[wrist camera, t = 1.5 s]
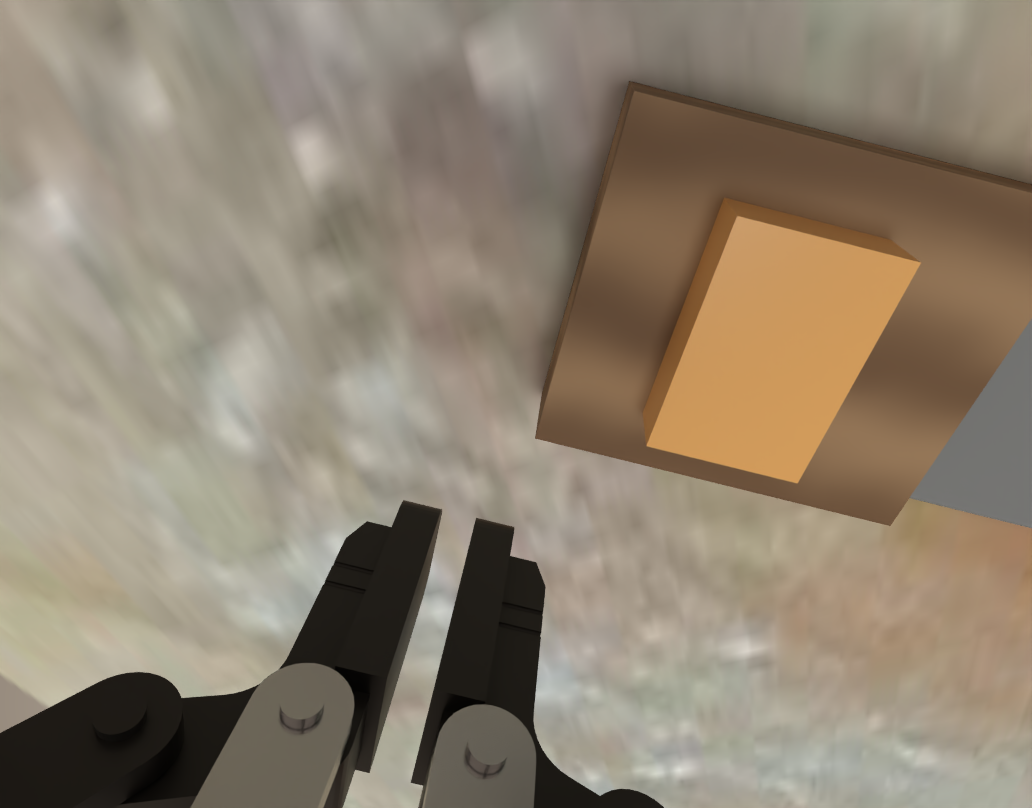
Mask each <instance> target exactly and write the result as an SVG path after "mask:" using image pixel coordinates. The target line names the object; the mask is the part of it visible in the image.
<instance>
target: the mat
mask: <svg viewBox="0 0 1032 808" xmlns="http://www.w3.org/2000/svg"><path fill="white" fill-rule="evenodd" d="M910 498H912V499H916V500H920V501H924V502H928V503H932V504H936V505H940V506H944V507H948V508H952V509H956V510H960V511H964V512H968V513H972V514H976V515H980V516H984V517H989V518H993V519H997V520H1001V521H1005V522H1009V523H1013V524H1017V525H1021V526H1025V527H1029V528H1032V319H1031V320H1030V322H1029V323H1028V325H1027V326H1026V327H1025V329H1024V330H1023V332H1022V333H1021V335H1020V336H1019V338H1018V339H1017V341H1016V342H1015V344H1014V345H1013V347H1012V348H1011V349H1010V351H1009V352H1008V354H1007V355H1006V357H1005V358H1004V360H1003V361H1002V363H1001V364H1000V366H999V367H998V369H997V370H996V372H995V373H994V374H993V376H992V377H991V379H990V380H989V382H988V383H987V385H986V386H985V388H984V389H983V391H982V392H981V394H980V395H979V396H978V398H977V399H976V401H975V402H974V404H973V405H972V407H971V408H970V410H969V411H968V413H967V414H966V416H965V417H964V418H963V420H962V421H961V423H960V424H959V426H958V427H957V429H956V430H955V432H954V433H953V435H952V436H951V438H950V439H949V441H948V442H947V443H946V445H945V446H944V448H943V449H942V451H941V452H940V454H939V455H938V457H937V458H936V460H935V461H934V463H933V464H932V465H931V467H930V468H929V470H928V471H927V473H926V474H925V476H924V477H923V479H922V480H921V482H920V483H919V485H918V486H917V487H916V489H915V490H914V492H913V493H912V495H911V496H910Z"/></svg>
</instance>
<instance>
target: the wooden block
mask: <svg viewBox="0 0 1032 808" xmlns="http://www.w3.org/2000/svg"><path fill="white" fill-rule="evenodd" d="M724 198H728V199H732V200H736V201H740V202H744V203H748V204H752V205H756V206H760V207H763V208H767V209H771V210H775V211H779V212H783V213H787V214H791V215H795V216H799V217H803V218H807V219H811V220H815V221H818V222H822V223H826V224H830V225H834V226H838V227H842V228H846V229H850V230H854V231H858V232H862V233H866V234H870V235H873V236H877V237H881V238H885V239H889V240H892V241H893V242H894V243H896V244H897V245H898V246H900V247H901V248H902V249H904V250H905V251H906V252H908V253H909V254H910V255H912V256H913V257H914V258H916V259H917V260H918V261H920V262H921V264H920V266H919V268H918V269H917V271H916V273H915V275H914V276H913V278H912V280H911V282H910V284H909V285H908V287H907V289H906V291H905V293H904V294H903V296H902V298H901V300H900V301H899V303H898V305H897V307H896V309H895V310H894V312H893V314H892V316H891V318H890V319H889V321H888V323H887V325H886V326H885V328H884V330H883V332H882V334H881V335H880V337H879V339H878V341H877V343H876V344H875V346H874V348H873V350H872V351H871V353H870V355H869V357H868V359H867V360H866V362H865V364H864V366H863V368H862V369H861V371H860V373H859V375H858V377H857V378H856V380H855V382H854V384H853V385H852V387H851V389H850V391H849V393H848V394H847V396H846V398H845V400H844V402H843V403H842V405H841V407H840V409H839V410H838V412H837V414H836V416H835V418H834V419H833V421H832V423H831V425H830V427H829V428H828V430H827V432H826V434H825V435H824V437H823V439H822V441H821V443H820V444H819V446H818V448H817V450H816V452H815V453H814V455H813V457H812V459H811V460H810V462H809V464H808V466H807V468H806V469H805V471H804V473H803V475H802V477H801V478H800V480H799V482H798V484H797V483H793V482H789V481H785V480H781V479H777V478H773V477H769V476H765V475H761V474H757V473H753V472H749V471H745V470H741V469H737V468H733V467H729V466H725V465H721V464H716V463H712V462H708V461H704V460H700V459H696V458H692V457H688V456H684V455H680V454H676V453H672V452H668V451H664V450H660V449H656V448H652V447H648V446H646V438H645V429H644V420H643V411H644V408H645V405H646V403H647V400H648V397H649V395H650V392H651V389H652V387H653V384H654V382H655V379H656V376H657V374H658V371H659V368H660V366H661V363H662V360H663V358H664V355H665V352H666V350H667V347H668V345H669V342H670V339H671V337H672V334H673V331H674V329H675V326H676V323H677V321H678V318H679V315H680V313H681V310H682V308H683V305H684V302H685V300H686V297H687V294H688V292H689V289H690V286H691V284H692V281H693V278H694V276H695V273H696V271H697V268H698V265H699V263H700V260H701V257H702V255H703V252H704V249H705V247H706V244H707V242H708V239H709V236H710V234H711V231H712V228H713V226H714V223H715V220H716V218H717V215H718V212H719V210H720V207H721V205H722V202H723V199H724ZM1031 319H1032V185H1031V184H1027V183H1023V182H1020V181H1016V180H1012V179H1008V178H1004V177H1000V176H996V175H992V174H988V173H985V172H981V171H977V170H973V169H969V168H965V167H961V166H957V165H953V164H950V163H946V162H942V161H938V160H934V159H930V158H926V157H922V156H918V155H915V154H911V153H907V152H903V151H899V150H895V149H891V148H887V147H883V146H879V145H876V144H872V143H868V142H864V141H860V140H856V139H852V138H848V137H844V136H841V135H837V134H833V133H829V132H825V131H821V130H817V129H813V128H809V127H806V126H802V125H798V124H794V123H790V122H786V121H782V120H778V119H774V118H771V117H767V116H763V115H759V114H755V113H751V112H747V111H743V110H739V109H736V108H732V107H728V106H724V105H720V104H716V103H712V102H708V101H704V100H701V99H697V98H693V97H689V96H685V95H681V94H677V93H673V92H669V91H666V90H662V89H658V88H654V87H650V86H646V85H642V84H638V83H634V82H630V81H629V84H628V88H627V92H626V95H625V99H624V102H623V106H622V109H621V113H620V117H619V120H618V124H617V127H616V131H615V134H614V138H613V142H612V145H611V149H610V152H609V156H608V160H607V163H606V167H605V170H604V174H603V177H602V181H601V185H600V188H599V192H598V195H597V199H596V202H595V206H594V210H593V213H592V217H591V220H590V224H589V227H588V231H587V235H586V238H585V242H584V245H583V249H582V252H581V256H580V260H579V263H578V267H577V270H576V274H575V277H574V281H573V285H572V288H571V292H570V295H569V299H568V302H567V306H566V310H565V313H564V317H563V320H562V324H561V327H560V331H559V335H558V338H557V342H556V345H555V349H554V352H553V356H552V360H551V363H550V367H549V370H548V374H547V378H546V381H545V385H544V388H543V392H542V397H541V403H540V410H539V417H538V423H537V430H536V436H535V438H536V439H540V440H544V441H548V442H552V443H556V444H560V445H564V446H568V447H572V448H576V449H580V450H584V451H588V452H592V453H597V454H601V455H605V456H609V457H613V458H617V459H621V460H625V461H629V462H633V463H637V464H641V465H645V466H649V467H653V468H657V469H661V470H666V471H670V472H674V473H678V474H682V475H686V476H690V477H694V478H698V479H702V480H706V481H710V482H714V483H718V484H722V485H726V486H730V487H734V488H739V489H743V490H747V491H751V492H755V493H759V494H763V495H767V496H771V497H775V498H779V499H783V500H787V501H791V502H795V503H799V504H803V505H807V506H812V507H816V508H820V509H824V510H828V511H832V512H836V513H840V514H844V515H848V516H852V517H856V518H860V519H864V520H868V521H872V522H876V523H880V524H885V525H889V526H891V524H892V523H893V521H894V520H895V518H896V517H897V515H898V514H899V512H900V511H901V510H902V508H903V507H904V505H905V504H906V502H907V501H908V499H909V498H910V496H911V495H912V493H913V492H914V490H915V489H916V487H917V486H918V485H919V483H920V482H921V480H922V479H923V477H924V476H925V474H926V473H927V471H928V470H929V468H930V467H931V465H932V464H933V463H934V461H935V460H936V458H937V457H938V455H939V454H940V452H941V451H942V449H943V448H944V446H945V445H946V443H947V442H948V441H949V439H950V438H951V436H952V435H953V433H954V432H955V430H956V429H957V427H958V426H959V424H960V423H961V421H962V420H963V418H964V417H965V416H966V414H967V413H968V411H969V410H970V408H971V407H972V405H973V404H974V402H975V401H976V399H977V398H978V396H979V395H980V394H981V392H982V391H983V389H984V388H985V386H986V385H987V383H988V382H989V380H990V379H991V377H992V376H993V374H994V373H995V372H996V370H997V369H998V367H999V366H1000V364H1001V363H1002V361H1003V360H1004V358H1005V357H1006V355H1007V354H1008V352H1009V351H1010V349H1011V348H1012V347H1013V345H1014V344H1015V342H1016V341H1017V339H1018V338H1019V336H1020V335H1021V333H1022V332H1023V330H1024V329H1025V327H1026V326H1027V325H1028V323H1029V322H1030V320H1031Z"/></svg>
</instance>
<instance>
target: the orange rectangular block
mask: <svg viewBox="0 0 1032 808" xmlns="http://www.w3.org/2000/svg"><path fill="white" fill-rule="evenodd" d="M920 264H921V262H920V261H918V260H917V259H916V258H914V257H913V256H912V255H910V254H909V253H908V252H906V251H905V250H904V249H902V248H901V247H900V246H898V245H897V244H896V243H894V242H893V241H892V240H889V239H885V238H881V237H877V236H873V235H870V234H866V233H862V232H858V231H854V230H850V229H846V228H842V227H838V226H834V225H830V224H826V223H822V222H818V221H815V220H811V219H807V218H803V217H799V216H795V215H791V214H787V213H783V212H779V211H775V210H771V209H767V208H763V207H760V206H756V205H752V204H748V203H744V202H740V201H736V200H732V199H728V198H724V199H723V202H722V205H721V207H720V210H719V212H718V215H717V218H716V220H715V223H714V226H713V228H712V231H711V234H710V236H709V239H708V242H707V244H706V247H705V249H704V252H703V255H702V257H701V260H700V263H699V265H698V268H697V271H696V273H695V276H694V278H693V281H692V284H691V286H690V289H689V292H688V294H687V297H686V300H685V302H684V305H683V308H682V310H681V313H680V315H679V318H678V321H677V323H676V326H675V329H674V331H673V334H672V337H671V339H670V342H669V345H668V347H667V350H666V352H665V355H664V358H663V360H662V363H661V366H660V368H659V371H658V374H657V376H656V379H655V382H654V384H653V387H652V389H651V392H650V395H649V397H648V400H647V403H646V405H645V408H644V411H643V420H644V429H645V438H646V446H648V447H652V448H656V449H660V450H664V451H668V452H672V453H676V454H680V455H684V456H688V457H692V458H696V459H700V460H704V461H708V462H712V463H716V464H721V465H725V466H729V467H733V468H737V469H741V470H745V471H749V472H753V473H757V474H761V475H765V476H769V477H773V478H777V479H781V480H785V481H789V482H793V483H797V484H798V482H799V480H800V478H801V477H802V475H803V473H804V471H805V469H806V468H807V466H808V464H809V462H810V460H811V459H812V457H813V455H814V453H815V452H816V450H817V448H818V446H819V444H820V443H821V441H822V439H823V437H824V435H825V434H826V432H827V430H828V428H829V427H830V425H831V423H832V421H833V419H834V418H835V416H836V414H837V412H838V410H839V409H840V407H841V405H842V403H843V402H844V400H845V398H846V396H847V394H848V393H849V391H850V389H851V387H852V385H853V384H854V382H855V380H856V378H857V377H858V375H859V373H860V371H861V369H862V368H863V366H864V364H865V362H866V360H867V359H868V357H869V355H870V353H871V351H872V350H873V348H874V346H875V344H876V343H877V341H878V339H879V337H880V335H881V334H882V332H883V330H884V328H885V326H886V325H887V323H888V321H889V319H890V318H891V316H892V314H893V312H894V310H895V309H896V307H897V305H898V303H899V301H900V300H901V298H902V296H903V294H904V293H905V291H906V289H907V287H908V285H909V284H910V282H911V280H912V278H913V276H914V275H915V273H916V271H917V269H918V268H919V266H920Z"/></svg>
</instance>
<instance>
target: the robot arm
mask: <svg viewBox="0 0 1032 808" xmlns="http://www.w3.org/2000/svg"><path fill="white" fill-rule="evenodd" d="M441 515H442V509H437V508H433V507H429V506H425V505H421V504H417V503H413V502H409V501H405V500H404V501H403V502H402V504H401V506H400V508H399V511H398V513H397V515H396V518H395V520H394V523H393V525H392V527H388V526H384V525H380V524H376V523H372V522H368V521H367V522H366V523H364V524H363V525H362V526H361V527H359V528H358V529H357V530H356V531H354V532H353V533H352V534H351V535H349V536H348V537H347V538H346V539H345V541H344V543H343V545H342V547H341V549H340V551H339V553H338V556H337V558H336V560H335V563H334V565H333V566H332V568H331V570H330V572H329V574H328V576H327V578H326V580H325V584H324V585H323V586H322V588H321V590H320V592H319V594H318V596H317V599H316V601H315V603H314V605H313V607H312V609H311V611H310V613H309V615H308V617H307V619H306V621H305V623H304V625H303V627H302V629H301V631H300V633H299V635H298V637H297V639H296V642H295V644H294V646H293V648H292V650H291V652H290V654H289V656H288V657H287V659H286V661H285V662H284V664H283V665H282V666H281V667H280V669H279V670H277V671H276V672H274V673H272V674H271V675H269V676H268V677H267V678H266V679H264V680H263V681H262V682H261V683H260V684H259V685H257V686H255V687H253V688H250V689H248V690H245V691H242V692H238V693H234V694H227V695H217V696H204V697H190V698H181V696H180V694H179V692H178V690H177V688H176V687H175V686H174V685H173V684H172V683H171V682H169V681H168V680H167V679H165V678H163V677H161V676H158V675H155V674H151V673H143V672H134V673H125V674H120V675H116V676H113V677H110V678H107V679H105V680H103V681H100V682H98V683H96V684H94V685H92V686H90V687H88V688H86V689H85V690H83V691H81V692H79V693H77V694H75V695H73V696H71V697H69V698H67V699H65V700H63V701H61V702H59V703H57V704H56V705H54V706H52V707H50V708H48V709H46V710H44V711H42V712H40V713H38V714H36V715H34V716H32V717H31V718H29V719H27V720H25V721H23V722H21V723H19V724H17V725H15V726H13V727H11V728H9V729H7V730H5V731H3V732H2V733H0V808H342V807H343V805H344V802H345V799H346V796H347V793H348V789H349V786H350V783H351V780H352V777H353V774H354V771H355V770H359V771H363V772H367V773H370V769H371V766H372V763H373V760H374V756H375V753H376V750H377V746H378V743H379V740H380V737H381V733H382V730H383V727H384V723H385V720H386V717H387V714H388V710H389V707H390V704H391V701H392V697H393V694H394V691H395V687H396V684H397V681H398V678H399V674H400V671H401V668H402V664H403V661H404V658H405V655H406V651H407V648H408V645H409V641H410V638H411V635H412V632H413V628H414V625H415V622H416V619H417V615H418V612H419V609H420V605H421V602H422V599H423V595H424V591H425V588H426V584H427V580H428V576H429V572H430V567H431V562H432V558H433V553H434V548H435V543H436V539H437V534H438V529H439V524H440V520H441ZM513 534H514V527H512V526H507V525H503V524H499V523H495V522H491V521H487V520H483V519H479V518H476V521H475V525H474V529H473V533H472V537H471V541H470V545H469V549H468V553H467V557H466V561H465V565H464V569H463V573H462V577H461V581H460V585H459V589H458V593H457V597H456V601H455V606H454V610H453V614H452V618H451V622H450V626H449V630H448V634H447V638H446V642H445V646H444V650H443V654H442V658H441V662H440V666H439V670H438V674H437V679H436V683H435V687H434V691H433V695H432V699H431V703H430V707H429V711H428V715H427V719H426V723H425V727H424V731H423V735H422V739H421V743H420V747H419V752H418V756H417V760H416V764H415V768H414V772H413V776H412V780H411V783H414V784H419V785H423V790H422V794H421V799H420V803H419V807H418V808H664V807H663V806H662V805H660V804H659V803H658V802H657V801H655V800H654V799H652V798H651V797H649V796H647V795H645V794H643V793H641V792H638V791H634V790H630V789H617V790H612V791H609V792H606V793H604V794H603V795H601V796H599V795H598V794H596V793H594V792H593V791H591V790H589V789H588V788H586V787H585V786H583V785H581V784H580V783H578V782H576V781H575V780H573V779H572V778H570V777H568V776H567V775H566V774H564V773H563V772H561V771H560V770H559V769H558V768H557V767H556V766H555V765H554V764H553V763H552V762H551V761H550V760H549V758H548V757H547V756H546V754H545V753H544V751H543V750H542V748H541V746H540V744H539V742H538V739H537V736H536V733H535V729H534V722H533V715H534V703H535V692H536V682H537V671H538V660H539V650H540V639H541V637H540V635H541V629H542V618H543V616H542V614H543V607H544V597H545V584H544V582H543V579H542V576H541V574H540V571H539V568H538V566H537V563H536V562H532V561H528V560H524V559H520V558H516V557H512V556H510V552H511V546H512V540H513Z"/></svg>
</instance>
